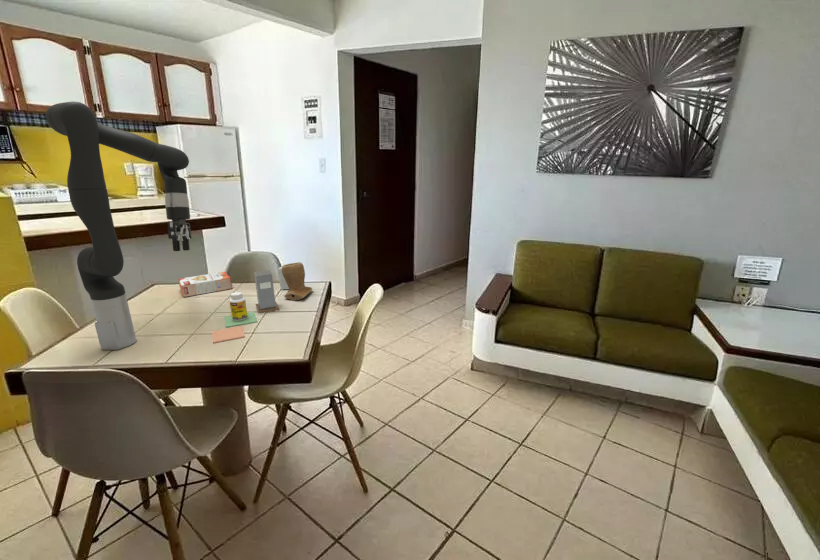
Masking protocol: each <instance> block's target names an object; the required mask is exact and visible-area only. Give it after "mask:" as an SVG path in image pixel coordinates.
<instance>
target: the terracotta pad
mask: <svg viewBox="0 0 820 560" xmlns="http://www.w3.org/2000/svg"><path fill="white" fill-rule="evenodd" d="M211 335H212V344H217V343H222V342H223V343H224V342H228V341H234V340H239V339H244V338H245V337H246V336H245V332H244V328H243V325H239V326H234V327H228V328H224V329H223V328H222V329H218V330H212V331H211Z"/></svg>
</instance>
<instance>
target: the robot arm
mask: <svg viewBox="0 0 820 560" xmlns="http://www.w3.org/2000/svg"><path fill="white" fill-rule="evenodd" d="M45 118H46V119H45V120H46V123H47V124H48V126H49V127H50V128H51V129H52V130H54V132H57V133H58V134H60V135H62V136H66V137H67V141H68V144H69V150H70V159H69V166H68V170H67V178H66V183H67V184H66V185H67V189H68V194H69V199H70V203H71V206H72V208H73V210H74V211H75V213H76V215H77V216H78V218H79V220H80V221H81V222H82V223H83V225H84V226H85V228H86V229H87V231H88V233H89V236H90V238H91V239H90V240H91V244H92V246H88V247H85V248H83V249H82V250H81V251H79V253H78V254H77V259H76V265H77V270H78V273H79V275H80V279H81V281H82V285H83V288H84V290H85V291H86V292H87V294H88V295H89V298H90V300H91V305H92V308H93V313H94V317H95V320H96V321H95V322H94V328H95V331H96V334H97V339H98V342H99V346H100V350H101V351H102V350H105V351H107V350H111V351H114V350H117V351H119V350H121V349H123V348H127V347H129V346H132V345H134V344H135V343H136V342H137V336H136V332H135V328H134V323H133V319H132V314H131V310H130V306H129V302H128V299H127V294H126V289H125V287H124V285H123V284H122V283H121V282H119V281H118V280H117V279H115V276H118V275H119V274H121V272H122V270H123V269H124V268H123V267H124V263H125V262H124V255H123V251H122V249H121V246H120V242H119V239H118V236H117V234H116V230H115V225H114V220H113V215H112V210H111V205H110V198H109V193H108V189H107V188H108V187H107V184H106V179H105V175H104V169H103V162H102V159H101V152H100V145H103V146H105V147H109V148H112V149H113V150H117V151H119V152H122V153H125V154H127V155H130V156H132V157H136V158H138V159H140V160H143V161H146V162H149V163H157V168H158V171H159V173H160V176H161V177H162V180H163V185H164V202H165V203H164V204H165V211H166V219H167V220H168V221H167V222H166V223H167V235H168V239H169V240H170V241H172V243H171V244H172V250H173V252H180V251H181V246H182V251H190V249H191V248H190V241H191V239H192V230H191V223H189V222H186V221H189V220H190V219H191V213H190V210H191V209H190V202H189V201H190V200H189V197H188V186H187V181H186V179H185V178H184V177H180V176H179V173H178V171H181V170H185V169H187V167H189V163H190V159H189V156H188V155H187V154H186V153H185V152H184V151H183V150H181V149H179V148H177V147H173V146H169V145H166V144H162V143H159V142H155V141H153V140H150V139H148V138H146V137H144V136H141V135H138V134H135V133H133V132H129V131H127V130H122V129H118V128H114V127H112V126H108V125H105V124H102V123H100V122H98V120H97V117H96V115H95V113H94V111H93V110H92V109H91V108H90V107H89V106H88V105H86V104H85V103H82V102H80V101H65V102H59V103H54V104H53V105H51V106H49V107H48V108H47V109H46V112H45ZM180 239H181V241H180ZM181 243H182V244H181Z"/></svg>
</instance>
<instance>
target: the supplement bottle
mask: <svg viewBox="0 0 820 560" xmlns="http://www.w3.org/2000/svg"><path fill="white" fill-rule="evenodd" d="M228 301H229V307H230V314H231V315H232V319H233V320H234V321H242V320H245V319H246V318H247V313H248V311H247V309H248V308H247V303H246V298H245V297H244V296H243V293H242V291H237V292H232V293H231V294H230V299H229V300H228ZM231 315H230V316H231Z"/></svg>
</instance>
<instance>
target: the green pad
mask: <svg viewBox="0 0 820 560" xmlns="http://www.w3.org/2000/svg"><path fill="white" fill-rule="evenodd" d="M223 319H224V325H225V329H228V328H233V327H239V326H243V325H251V324H255V323H258V320H257V319H258V318H257V317H256V313H255V311H249V312H247V318H246V319H245V320H242V321H234V320H233V319H232V315H226V316H224V317H223Z"/></svg>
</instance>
